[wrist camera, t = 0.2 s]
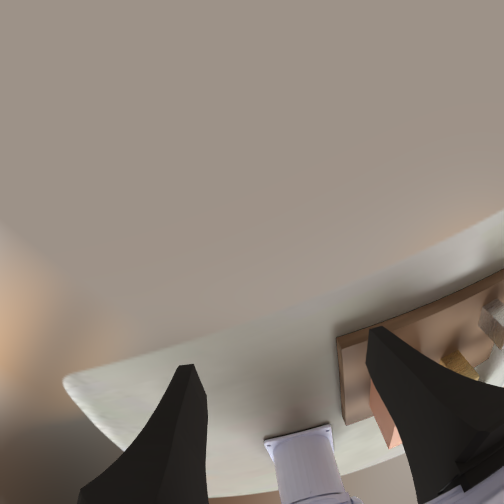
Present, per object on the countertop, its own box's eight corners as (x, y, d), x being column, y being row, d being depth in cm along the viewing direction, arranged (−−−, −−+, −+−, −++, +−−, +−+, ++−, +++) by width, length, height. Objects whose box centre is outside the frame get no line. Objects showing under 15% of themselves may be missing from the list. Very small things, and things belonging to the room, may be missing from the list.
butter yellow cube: (453, 365, 27) (473, 390, 22) (436, 374, 27) (455, 401, 23) (458, 349, 26) (479, 376, 21) (440, 359, 26) (461, 387, 21)
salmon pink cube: (414, 386, 27) (437, 426, 21) (369, 405, 27) (388, 449, 22) (421, 353, 25) (451, 395, 19) (371, 374, 25) (395, 422, 19)
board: (482, 351, 29) (488, 358, 28) (342, 415, 29) (345, 425, 28) (504, 268, 24) (512, 274, 22) (336, 337, 24) (341, 349, 23)
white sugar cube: (492, 317, 24) (516, 340, 20) (477, 325, 24) (501, 350, 20) (497, 298, 23) (522, 320, 19) (482, 306, 23) (508, 331, 19)
